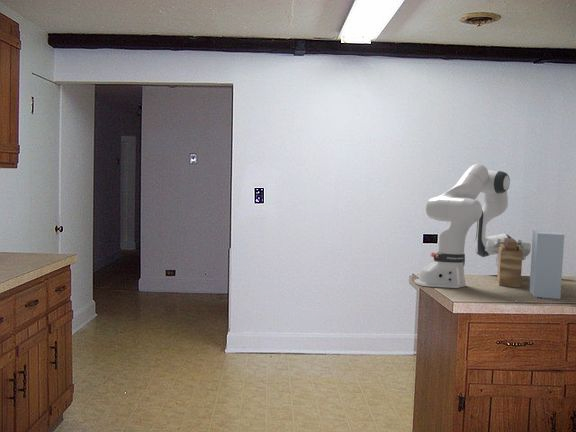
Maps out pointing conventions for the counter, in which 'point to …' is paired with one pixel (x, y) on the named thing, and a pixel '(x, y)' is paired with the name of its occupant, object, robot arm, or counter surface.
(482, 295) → the counter surface
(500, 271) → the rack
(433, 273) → the robot arm
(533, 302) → the counter surface
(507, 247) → the walnut bar
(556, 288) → the stand
